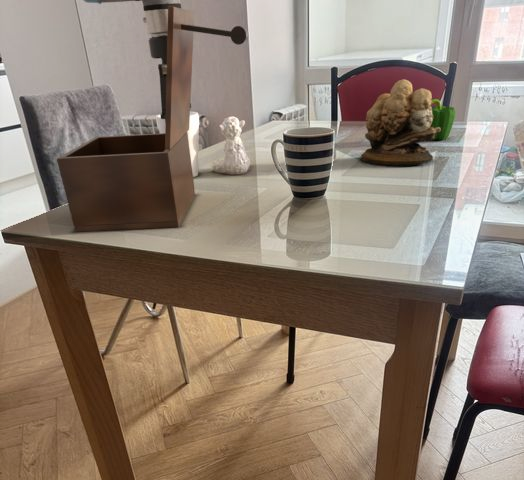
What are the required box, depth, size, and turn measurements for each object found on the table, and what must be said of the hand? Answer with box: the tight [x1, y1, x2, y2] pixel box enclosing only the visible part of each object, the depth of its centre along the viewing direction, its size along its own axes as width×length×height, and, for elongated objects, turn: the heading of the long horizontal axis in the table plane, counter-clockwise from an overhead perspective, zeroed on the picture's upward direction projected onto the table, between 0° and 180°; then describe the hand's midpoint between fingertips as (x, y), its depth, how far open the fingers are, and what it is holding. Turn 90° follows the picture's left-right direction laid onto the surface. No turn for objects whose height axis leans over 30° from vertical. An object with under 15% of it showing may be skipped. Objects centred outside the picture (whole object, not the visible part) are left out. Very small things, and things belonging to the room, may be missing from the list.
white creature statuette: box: [211, 115, 251, 176], centre depth 116 cm, size 10×9×12 cm
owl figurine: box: [360, 78, 441, 167], centre depth 115 cm, size 18×12×17 cm, turn 57°
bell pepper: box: [430, 98, 456, 141], centre depth 136 cm, size 8×8×10 cm
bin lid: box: [165, 6, 249, 150], centre depth 83 cm, size 19×20×11 cm
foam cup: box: [155, 111, 200, 178], centre depth 115 cm, size 10×9×13 cm
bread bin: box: [56, 132, 196, 233], centre depth 92 cm, size 18×20×12 cm
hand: (181, 145), depth 115 cm, fingers open, 13 cm apart
